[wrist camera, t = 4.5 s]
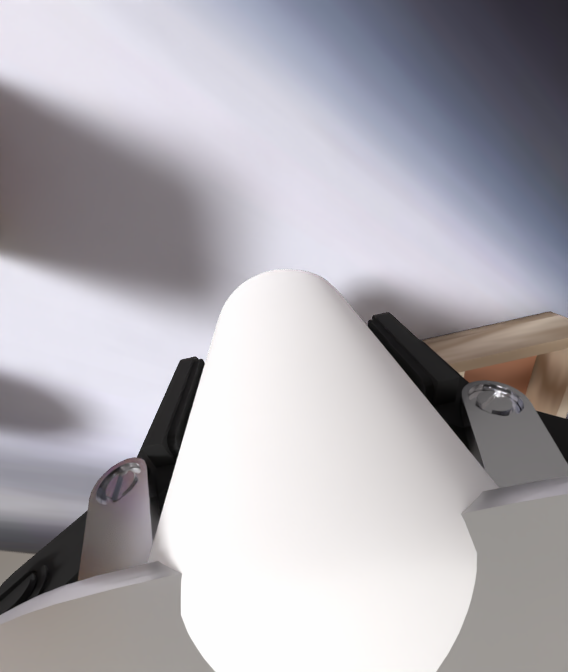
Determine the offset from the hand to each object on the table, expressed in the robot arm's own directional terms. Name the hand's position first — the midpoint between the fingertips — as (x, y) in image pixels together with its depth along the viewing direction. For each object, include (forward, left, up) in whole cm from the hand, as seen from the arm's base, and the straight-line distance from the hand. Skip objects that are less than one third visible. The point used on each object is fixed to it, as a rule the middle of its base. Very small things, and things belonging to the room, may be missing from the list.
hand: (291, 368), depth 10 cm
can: (0, 0, -3) cm, 3 cm away
